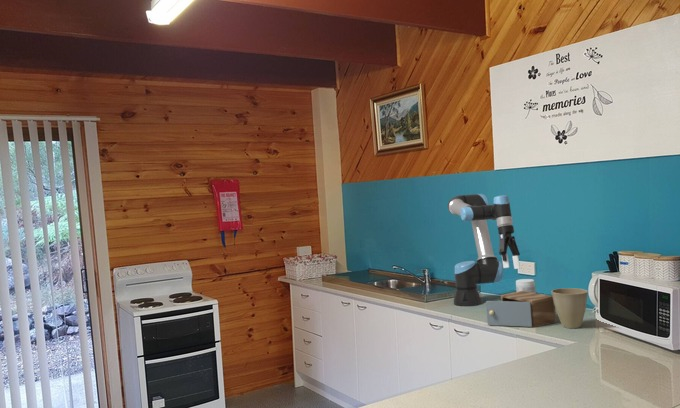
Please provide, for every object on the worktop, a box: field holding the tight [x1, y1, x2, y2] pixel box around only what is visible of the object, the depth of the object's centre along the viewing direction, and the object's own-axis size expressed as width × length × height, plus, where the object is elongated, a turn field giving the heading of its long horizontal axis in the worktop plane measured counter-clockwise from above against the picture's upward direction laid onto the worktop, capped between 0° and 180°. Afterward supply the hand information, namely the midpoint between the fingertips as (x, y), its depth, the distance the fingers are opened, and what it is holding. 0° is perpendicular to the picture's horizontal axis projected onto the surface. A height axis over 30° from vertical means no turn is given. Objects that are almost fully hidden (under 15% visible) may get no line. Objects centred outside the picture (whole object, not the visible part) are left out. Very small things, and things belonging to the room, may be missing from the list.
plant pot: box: [551, 287, 589, 329], centre depth 239 cm, size 15×15×16 cm
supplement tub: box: [515, 278, 537, 293], centre depth 279 cm, size 10×10×15 cm
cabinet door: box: [485, 300, 533, 328], centre depth 246 cm, size 20×3×11 cm, turn 62°
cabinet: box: [500, 291, 557, 328], centre depth 254 cm, size 20×14×12 cm
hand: (512, 268), depth 264 cm, fingers open, 13 cm apart
